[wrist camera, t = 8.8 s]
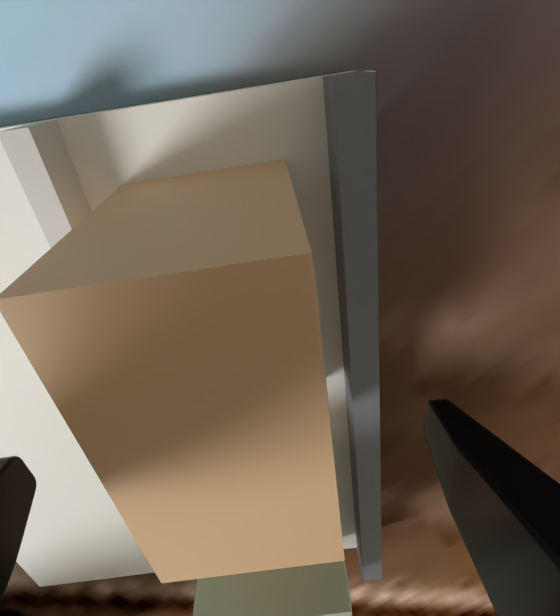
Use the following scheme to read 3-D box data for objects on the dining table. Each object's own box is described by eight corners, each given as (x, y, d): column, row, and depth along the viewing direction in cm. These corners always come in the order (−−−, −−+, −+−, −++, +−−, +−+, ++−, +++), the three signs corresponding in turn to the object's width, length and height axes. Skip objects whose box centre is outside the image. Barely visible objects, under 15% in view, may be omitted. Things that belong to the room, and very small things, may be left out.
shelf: (372, 531, 24) (383, 578, 22) (45, 572, 25) (24, 622, 23) (356, 69, 12) (379, 71, 9) (-300, 175, 12) (-423, 199, 10)
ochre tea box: (122, 184, 12) (-7, 299, 6) (287, 158, 12) (317, 251, 6) (195, 399, 17) (161, 583, 11) (315, 383, 17) (348, 560, 11)
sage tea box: (212, 447, 18) (190, 630, 12) (322, 432, 18) (354, 611, 12) (247, 551, 23) (244, 721, 17) (335, 540, 23) (363, 708, 17)
